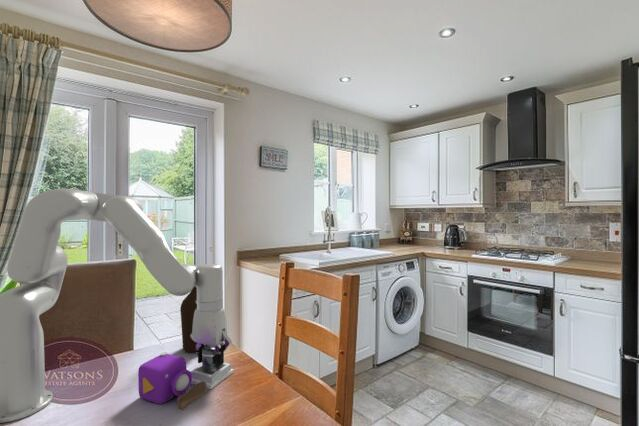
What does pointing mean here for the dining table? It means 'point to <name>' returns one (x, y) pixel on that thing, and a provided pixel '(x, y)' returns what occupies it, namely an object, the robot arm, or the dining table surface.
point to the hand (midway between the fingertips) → (210, 362)
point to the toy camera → (163, 378)
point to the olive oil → (188, 321)
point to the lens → (209, 360)
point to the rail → (191, 395)
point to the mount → (211, 379)
